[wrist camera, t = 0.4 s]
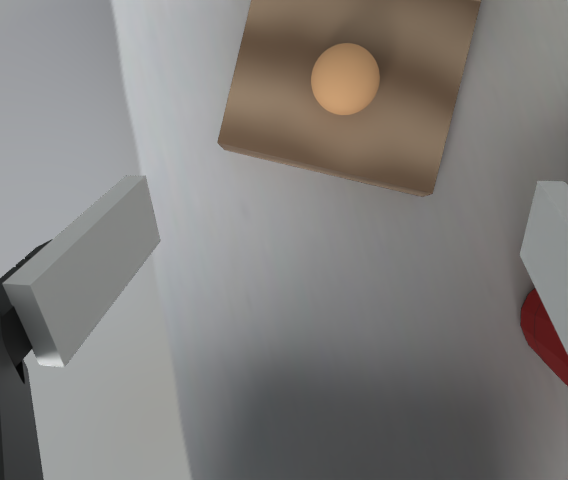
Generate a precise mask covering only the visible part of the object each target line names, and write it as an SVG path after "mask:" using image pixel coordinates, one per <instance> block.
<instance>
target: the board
mask: <svg viewBox="0 0 568 480" xmlns="http://www.w3.org/2000/svg"><path fill="white" fill-rule="evenodd" d="M480 3H481V0H251V4H250V8H249V12H248V17H247V21H246V25H245V29H244V33H243V38H242V42H241V46H240V50H239V54H238V58H237V63H236V67H235V71H234V75H233V79H232V84H231V88H230V92H229V96H228V100H227V104H226V109H225V113H224V117H223V121H222V125H221V130H220V134H219V138H218V142H217V143H218V144H219V145H220V146H221V147H222V148H223V149H224V150H227V151H232V152H236V153H240V154H244V155H249V156H253V157H257V158H261V159H265V160H270V161H274V162H278V163H282V164H286V165H291V166H295V167H299V168H303V169H308V170H312V171H316V172H320V173H324V174H329V175H333V176H337V177H341V178H346V179H350V180H354V181H358V182H362V183H367V184H371V185H375V186H379V187H383V188H388V189H392V190H396V191H400V192H405V193H409V194H413V195H417V196H421V197H424V196H427V195H430V194H433V190H434V186H435V182H436V178H437V174H438V170H439V166H440V162H441V158H442V154H443V150H444V146H445V142H446V138H447V134H448V130H449V126H450V122H451V118H452V115H453V111H454V107H455V103H456V99H457V95H458V91H459V87H460V83H461V79H462V75H463V71H464V67H465V63H466V59H467V55H468V51H469V47H470V43H471V39H472V35H473V31H474V27H475V23H476V19H477V15H478V11H479V7H480ZM342 43H352V44H356V45H359V46H361V47H363V48H365V49H366V50H367V51H369V52H370V54H371V55H372V56H373V57H374V59H375V61H376V62H377V65H378V68H379V74H380V82H379V87H378V90H377V93H376V95H375V97H374V99H373V100H372V101H371V103H370V104H369V105H368V106H367V107H366V108H364V109H363V110H361V111H359V112H357V113H354V114H351V115H337V114H333V113H331V112H329V111H327V110H326V109H324V108H323V107H322V106H321V105H320V104H319V103H318V101H317V100H316V98H315V96H314V94H313V91H312V86H311V75H312V70H313V67H314V65H315V63H316V61H317V60H318V58H319V57H320V56H321V54H322V53H323V52H325V51H326V50H327V49H329V48H331V47H332V46H335V45H337V44H342Z"/></svg>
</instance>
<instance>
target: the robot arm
mask: <svg viewBox="0 0 568 480" xmlns="http://www.w3.org/2000/svg"><path fill="white" fill-rule="evenodd" d="M159 242H160V237H159V232H158V228H157V223H156V219H155V215H154V210H153V206H152V202H151V197H150V193H149V188H148V184H147V180H146V176H125V177H124V178H123V179H121V180H120V181H119V182H118V183H117V184H116V185H115V186H113V187H112V188H111V189H110V190H109V191H108V192H107V193H105V194H104V195H103V196H102V197H101V198H100V199H99V200H98V201H96V202H95V203H94V204H93V205H92V206H91V207H90V208H88V209H87V210H86V211H85V212H84V213H83V214H82V215H80V216H79V217H78V218H77V219H76V220H75V221H73V222H72V223H71V224H70V225H69V226H68V227H67V228H65V230H63V231H62V232H61V233H60V234H58V235H57V236H56V237H55V238H54V239H52V240H50V241H48V242H46V243H44V244H42V245H40V246H38V247H36V248H35V249H34V250H33V251H32V252H31V253H29V254H28V255H27V256H26V257H25V259H22V260H21V261H20V262H19V263H18V264H16V267H13V268H12V269H11V270H9V271H8V272H7V273H6V274H5V275H4V276H2V277H1V278H0V480H44V479H43V473H42V465H41V459H40V452H39V445H38V438H37V431H36V425H35V417H34V410H33V403H32V396H31V389H30V382H29V375H28V369H27V366H26V364H25V362H24V360H23V359H24V357H25V356H26V355H27V354H28V353H29V352H30V350H31V349H32V350H33V352H34V354H35V356H36V358H37V360H38V363H39V365H46V366H57V367H65V366H66V365H67V363H68V362H69V361H70V360H71V358H72V357H73V356H74V354H75V353H76V352H77V350H78V349H79V348H80V346H81V345H82V344H83V342H84V341H85V340H86V338H87V337H88V336H89V335H90V333H91V332H92V331H93V329H94V328H95V327H96V325H97V324H98V323H99V321H100V320H101V318H102V317H103V316H104V315H105V313H106V312H107V311H108V309H109V308H110V307H111V306H112V304H113V303H114V302H115V300H116V299H117V298H118V296H119V295H120V294H121V292H122V291H123V290H124V288H125V287H126V286H127V284H128V283H129V282H130V280H131V279H132V278H133V276H134V275H135V274H136V273H137V271H138V270H139V268H140V267H141V266H142V265H143V263H144V262H145V261H146V259H147V258H148V257H149V255H150V254H151V253H152V252H153V250H154V249H155V248H156V246H157V245H158V244H159ZM520 257H521V259H522V261H523V263H524V265H525V267H526V269H527V271H528V273H529V276H530V278H531V280H532V282H533V284H534V286H535V288H536V290H537V292H538V294H539V296H540V298H541V300H542V303H543V305H544V307H545V309H546V311H547V313H548V315H549V317H550V319H551V321H552V323H553V325H554V327H555V330H556V332H557V334H558V336H559V338H560V340H561V342H562V344H563V346H564V348H565V350H566V352H567V354H568V185H567V184H566V183H565V182H564V181H537V185H536V189H535V193H534V197H533V201H532V205H531V210H530V214H529V218H528V222H527V226H526V231H525V235H524V239H523V243H522V247H521V251H520Z"/></svg>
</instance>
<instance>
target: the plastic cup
mask: <svg viewBox="0 0 568 480" xmlns="http://www.w3.org/2000/svg"><path fill="white" fill-rule="evenodd" d="M521 328H522V330H523V333H524V336H525V338H526V341H527V342H528V345H529V346H530V347H531V348H532V349H533V350H534V351H535V352H536V353H537V354H538V355H539V356H540V357H541V358H542V360H543V361H544V362H545V363H546V364H547V365H548V366H549V367H550V368H551V369H552V370H553V372H554V373H555V374H556V375H557V376H558V377H559V378H560V379H561V380H562V381H563V382H564V383H565V384H566V385H567V386H568V354H567V352H566V350H565V348H564V346H563V344H562V342H561V340H560V338H559V336H558V334H557V332H556V330H555V327H554V325H553V323H552V321H551V319H550V317H549V315H548V313H547V311H546V309H545V307H544V305H543V303H542V300H541V298H540V296H539V294H538V292H537V290H536V288H534V289H533V290H532V291H531V292H530V293H529V294H528V296H527V298H526V300H525V302H524V304H523V306H522V308H521Z"/></svg>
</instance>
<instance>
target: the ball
mask: <svg viewBox="0 0 568 480" xmlns="http://www.w3.org/2000/svg"><path fill="white" fill-rule="evenodd" d="M379 82H380V74H379V68H378V65H377V62H376V61H375V59H374V57H373V56H372V55H371V54H370V52H369V51H367V50H366V49H365V48H363V47H361V46H359V45H356V44H352V43H342V44H337V45H335V46H332V47H331V48H329V49H327V50H326V51H325V52H323V53H322V54H321V56H320V57H319V58H318V60H317V61H316V63H315V65H314V67H313V70H312V75H311V86H312V91H313V94H314V96H315V98H316V100H317V101H318V103H319V104H320V105H321V106H322V107H323V108H324V109H326V110H327V111H329V112H331V113H333V114H337V115H351V114H354V113H357V112H359V111H361V110H363V109H364V108H366V107H367V106H368V105H369V104H370V103H371V101H372V100H373V99H374V97H375V95H376V93H377V90H378V87H379Z"/></svg>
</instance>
